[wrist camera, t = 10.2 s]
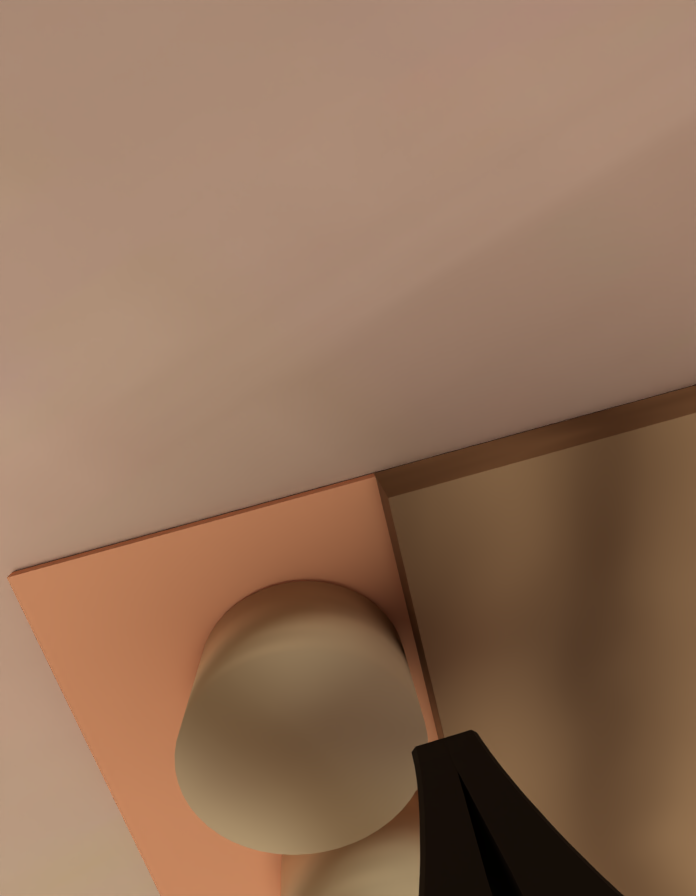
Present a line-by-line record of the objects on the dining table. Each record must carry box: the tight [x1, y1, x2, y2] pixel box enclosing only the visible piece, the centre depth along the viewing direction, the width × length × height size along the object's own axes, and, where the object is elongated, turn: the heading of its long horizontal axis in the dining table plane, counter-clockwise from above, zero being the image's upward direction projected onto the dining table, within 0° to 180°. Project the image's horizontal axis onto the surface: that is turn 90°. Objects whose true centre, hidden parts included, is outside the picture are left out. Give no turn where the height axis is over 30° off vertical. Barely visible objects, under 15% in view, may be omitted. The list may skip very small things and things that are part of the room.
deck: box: [374, 385, 696, 896], centre depth 16 cm, size 10×18×2 cm, turn 14°
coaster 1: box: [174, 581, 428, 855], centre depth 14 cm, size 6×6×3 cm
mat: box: [7, 473, 438, 896], centre depth 16 cm, size 10×18×1 cm, turn 14°
